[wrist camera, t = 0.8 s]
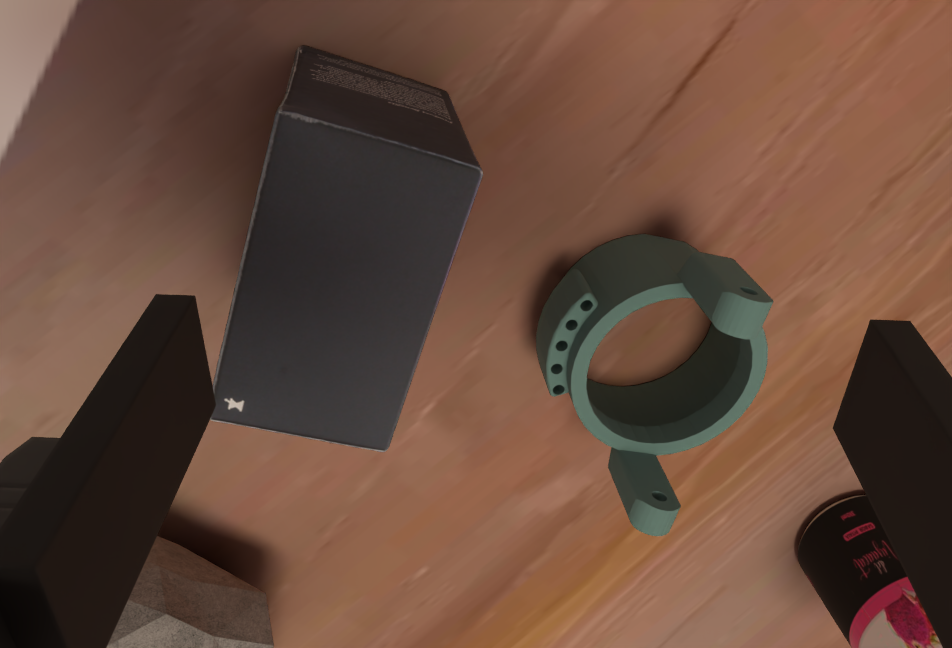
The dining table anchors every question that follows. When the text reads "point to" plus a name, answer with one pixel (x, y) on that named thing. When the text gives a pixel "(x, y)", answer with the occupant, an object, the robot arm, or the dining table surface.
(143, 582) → the potted plant
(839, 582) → the beverage can
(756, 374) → the bracket
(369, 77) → the small box
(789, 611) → the dining table surface
